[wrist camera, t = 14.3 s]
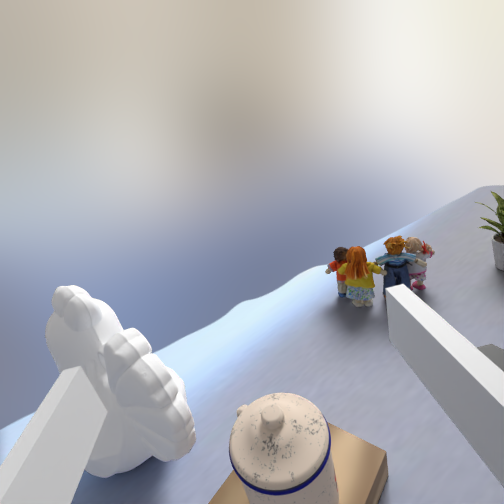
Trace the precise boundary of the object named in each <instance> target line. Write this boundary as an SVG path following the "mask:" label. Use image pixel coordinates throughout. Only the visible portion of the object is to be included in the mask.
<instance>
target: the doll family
mask: <svg viewBox="0 0 504 504" xmlns="http://www.w3.org/2000/svg"><path fill="white" fill-rule="evenodd" d="M401 237H402V236H397V237H394V238H393V237H391V238H389V239H388V240H387V241H385V243H384V245H385V246H386V248H387V251H388V253H385V254H384V255H383V256H380V257H378V258H376V262H373V263H372V262H367V258H366V253H365V250H364V249H363V248H362V247H360V246H357V247H351V248H350V249H349V250H348V249H346V248H343V247H338V248H337V249H335V251H334V258H335V260H336V261H333V262H332V263H330V264H328V265H327V266H328V269H327V270H326V271H325V272H326V273H327V274H330V273H331V272H334V271H337V272H336V273H337V284H338V291H339V292H338V294H339V296H340V297H347V298H350V299H353V300H352V303H353V304H354V305H355V306H356V307H362V306H363V304H364V305H365V306H372V305H373V300H372V298H374V297H375V295H374V292H373V288H374V287H375V284H374V281H373V273H376V274H382V275H384V286H383V295H384V297H385V298H386V290H385V288H389V287H393V286H397V285H401V284H404V285H405V286H406V287H407V288H409V289H410V290H411V291H412V290H413V287H415V288H417V289H419V290H423V289H425V288H426V287H425V285H424V284H423V281H424V280H426V275H425V272H426V269H427V267H426V266H427V263H426V258H431V257H432V255H433V254H434V253H435V252H434V250H432V248H431V246H430V245H428V244H427V243H426V244H425V243H424V241H423V243H424V244H423V245H422V243H421V241H420V240H419V239H418V238H415V237H408V238H407V240H406V241H404V239H402V238H401ZM404 243H405V244H404ZM404 247H405V250H406V253H404V252H402V250H403V248H404ZM418 250H419V251H418ZM416 251H418V252H416ZM378 264H379V265H380V266H382V265H384V264H385V266H384V270H383V269H382V268H381V267H379V266H378ZM372 272H373V273H372ZM413 278H415V280H417V281H415V282H414V283H413V284H412V286H413V287H412V286H411V280H412V279H413Z"/></svg>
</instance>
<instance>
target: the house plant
mask: <svg viewBox="0 0 504 504" xmlns="http://www.w3.org/2000/svg"><path fill="white" fill-rule="evenodd" d="M491 193H492V194H493V196H494V197H495V199H496V201H497V202H498V207H497V214H496V216H497V215H498V218H499V221H500V222H501V224H502V225H501V224H499V223H497V222H495V221H492V220H490V219H487V218H482V219H484V220H486V221H487V222H488V223H490V224H492V225H494V226H496V227H497V228H498V229H499V230H500V231H502V232H498V231H497V230H495V229H494V228H492V227H490V226H482V227H479V228H484V229H489V230H492V231H495V232H497V233H496V234H494V235H493V236H492V245H493V252H494V259H495V266H496V267H497V268H498V269H500V270H503V271H504V199H502V198H501V197H500V196H499V195H497V194H496V193H494V192H491ZM475 203H478V202H475ZM480 204H482V203H480ZM482 205H484V204H482ZM485 206H486V205H485ZM487 207H488V206H487ZM488 208H489V207H488ZM490 209H491V208H490ZM491 210H492V209H491ZM492 211H493V210H492ZM495 213H496V212H495ZM480 218H481V217H480Z"/></svg>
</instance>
